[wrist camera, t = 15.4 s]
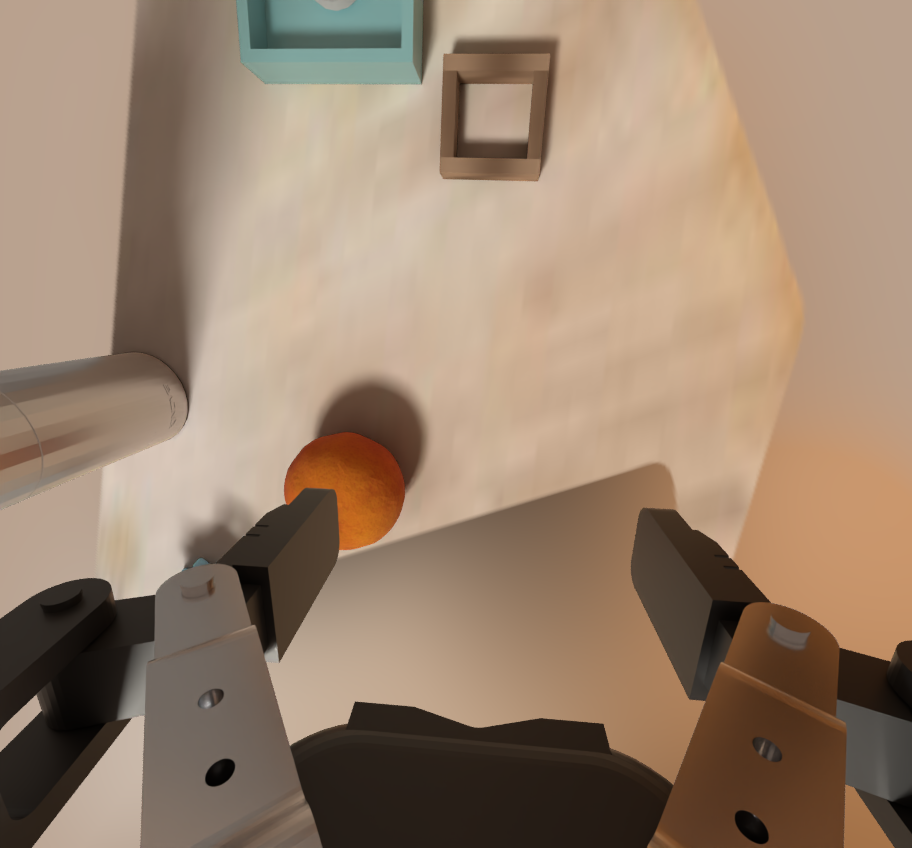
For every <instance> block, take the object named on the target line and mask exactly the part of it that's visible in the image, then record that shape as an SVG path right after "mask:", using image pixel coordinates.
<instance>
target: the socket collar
mask: <svg viewBox="0 0 912 848" xmlns="http://www.w3.org/2000/svg"><path fill="white" fill-rule="evenodd" d="M549 64H550V53H540V54H444V57H443V87H442V117H441V147H440V174H441V175H442V177H443V179H468V180H509V181H538V178H539V173H540V162H541V151H542V141H543V130H544V119H545V108H546V97H547V86H548V75H549ZM460 84H533V89H532V101H531V113H530V125H529V137H528V149H527V159H507V158H457V138H458V115H459V91H460Z"/></svg>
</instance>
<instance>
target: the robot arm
mask: <svg viewBox="0 0 912 848" xmlns="http://www.w3.org/2000/svg"><path fill="white" fill-rule="evenodd" d="M187 411H188V410H187V399H186V394H185V391H184V389H183V386H182V384H181V382H180V381H179V379H178V378H177V376H176V375H175V373H174V372H173V371H172V370H171V369H170V368H169V367H168V366H167V365H166V364H164V363H163V362H162V361H160V360H159V359H157V358H155V357H153V356H151V355H148V354H144V353H138V352H129V353H122V354H115V355H108V356H101V357H94V358H86V359H80V360H72V361H65V362H59V363H51V364H44V365H38V366H30V367H23V368H16V369H10V370H3V371H0V510H2V509H4V508H7V507H9V506H11V505H14V504H16V503H19V502H20V501H23V500H25V499H28V498H30V497H32V496H35V495H37V494H40V493H42V492H44V491H47V490H49V489H52V488H54V487H56V486H59V485H61V484H63V483H66V482H68V481H71V480H73V479H75V478H78V477H80V476H83V475H85V474H87V473H90V472H92V471H94V470H97V469H99V468H102V467H104V466H107V465H109V464H111V463H114V462H116V461H118V460H121V459H123V458H126V457H128V456H130V455H133V454H135V453H138V452H140V451H143V450H145V449H147V448H150V447H152V446H154V445H157V444H159V443H162V442H164V441H166V440H169V439H171V438H172V437H174V436H175V435H176V434H178V432H179V431H180V430H181V429H182V427H183V425H184V423H185V421H186V417H187ZM339 545H340V539H339V522H338V505H337V495H336V492H335V490H334V489H322V488H304V489H303V490H302V491H301V492H300V494H299V495H298V496H297V497H296V498H295V499H294V500H293V501H292V502H291V503H290V504H289V505H286V504H284V505H282V506H280V507H278V508H276V509H274V510H272V511H270V512H268V513H267V514H266V515H264V516H263V517H262V518H261V519H260V520H259V521H258V522H257V523H256V524H255V527H252V528H251V529H250V530H249V531H248V532H247V533H246V536H243V537H242V538H241V539H240V540H239V541H238V542H237V543H236V544H235V545H234V546H233V547H232V548H231V549H230V550H229V551H228V552H227V553H226V554H225V555H224V556H223V557H222V558H221V559H220V560H219V561H218V562H217V563H216V564H206V565H200V566H196V567H193V568H189V569H187V570H184V571H182V572H180V573H178V574H176V575H174V576H172V577H171V578H169V579H168V580H167V581H165V582H164V583H163V584H162V585H161V586H160V587H159V589H158V590H157V592H156V595H151V596H144V597H137V598H129V599H122V600H114V596H113V592H112V588H111V585H110V583H109V582H107V581H105V580H103V579H97V578H87V579H79V580H74V581H69V582H66V583H62V584H60V585H56V586H54V587H51V588H48V589H46V590H44V591H42V592H40V593H38V594H36V595H35V596H32V597H31V598H29V599H28V600H26V601H25V602H23V603H22V604H20V605H19V606H18V607H16V608H15V609H14V610H12V611H11V612H9V613H8V614H6V615H5V616H4V617H2V618H1V619H0V730H1V728H2V727H3V726H4V725H5V724H6V723H7V722H8V721H9V720H10V719H11V718H12V717H13V716H14V715H15V714H16V713H17V712H18V711H19V710H20V709H21V708H22V707H23V706H25V705H26V704H27V703H28V702H29V701H30V700H31V699H32V698H33V697H34V696H35V695H36V694H37V697H38V700H39V703H40V706H41V709H42V711H41V712H40V713H39V714H38V715H37V716H36V717H35V718H34V719H33V720H32V721H31V722H30V723H29V724H28V725H27V726H26V727H25V728H24V729H23V730H22V731H21V732H20V733H19V734H18V735H17V736H16V737H15V738H14V739H13V740H12V741H11V742H10V743H9V744H8V745H7V746H6V747H5V748H4V749H3V750H2V751H1V752H0V848H32V847H33V845H34V844H35V843H36V842H37V840H38V839H39V838H40V836H41V835H42V834H43V832H44V831H45V830H46V829H47V827H48V826H49V825H50V823H51V822H52V821H53V820H54V818H55V817H56V816H57V814H58V813H59V812H60V810H61V809H62V808H63V806H64V805H65V804H66V803H67V801H68V800H69V799H70V798H71V796H72V795H73V794H74V792H75V791H76V790H77V789H78V787H79V786H80V785H81V783H82V782H83V781H84V779H85V778H86V777H87V776H88V774H89V773H90V771H91V770H92V769H93V768H94V766H95V765H96V764H97V762H98V761H99V760H100V759H101V758H102V756H103V755H104V754H105V752H106V751H107V750H108V748H109V747H110V746H111V745H112V743H113V742H114V741H115V739H116V738H117V737H118V736H119V734H120V733H121V732H122V730H123V729H124V727H125V726H126V725H127V724H128V723H129V721H130V720H131V719H132V718H133V717H138V716H143V715H145V723H144V753H143V784H142V785H143V786H142V814H141V845H140V848H844V818H845V816H844V815H845V784H846V785H849V786H852V787H854V788H855V789H856V791H857V793H858V794H859V796H860V797H861V799H862V800H863V801H864V803H865V805H866V806H867V807H868V809H869V810H870V812H871V813H872V815H873V816H874V818H875V819H876V821H877V822H878V824H879V825H880V826H881V828H882V830H883V831H884V833H885V834H886V836H887V837H888V838H889V840H890V841H891V843H892V844H893V846H894V847H895V848H912V641H904V642H901V643H899V644H898V645H897V648H896V650H895V652H894V655H893V658H892V660H891V662H890V661H886V660H882V659H879V658H875V657H871V656H868V655H864V654H860V653H856V652H853V651H849V650H846V649H842V648H839V645H838V642H837V640H836V639H835V637H834V636H833V635H832V634H831V633H830V632H829V631H828V630H827V629H826V628H825V627H824V626H823V625H821V624H820V623H818V622H817V621H815V620H814V619H812V618H810V617H809V616H807V615H805V614H803V613H801V612H799V611H796V610H794V609H791V608H788V607H786V606H782V605H778V604H774V603H771V602H770V601H769V600H768V599H767V598H766V597H765V595H764V594H763V593H762V592H761V591H760V590H759V589H758V588H757V587H756V586H755V584H754V583H753V582H752V581H751V580H750V579H749V578H748V577H747V575H746V574H745V573H744V572H743V571H742V570H739V567H738V566H737V564H736V563H735V562H734V561H733V560H732V559H731V558H729V556H728V554H727V553H726V552H725V551H724V550H723V549H722V548H721V547H720V546H719V544H718V543H717V542H715V541H714V540H712V539H711V538H709V537H707V536H706V535H704V534H703V533H701V532H700V531H698V530H692V529H691V528H690V526H689V525H688V524H687V523H686V522H685V521H684V519H683V518H682V517H681V516H680V515H679V513H678V512H677V511H676V510H671V509H655V508H643V509H642V510H641V511H640V514H639V518H638V523H637V530H636V535H635V541H634V548H633V554H632V560H631V575H632V581H633V584H634V587H635V589H636V591H637V593H638V595H639V597H640V599H641V601H642V604H643V606H644V608H645V610H646V612H647V613H648V616H649V618H650V620H651V622H652V624H653V626H654V628H655V630H656V632H657V634H658V636H659V638H660V640H661V642H662V644H663V647H664V649H665V651H666V653H667V655H668V657H669V659H670V661H671V663H672V665H673V667H674V669H675V671H676V673H677V675H678V677H679V679H680V681H681V684H682V686H683V687H684V690H685V692H686V694H687V696H688V698H689V699H691V700H703V701H705V704H704V706H703V709H702V712H701V714H700V717H699V720H698V722H697V725H696V728H695V730H694V733H693V735H692V738H691V741H690V743H689V746H688V748H687V751H686V754H685V756H684V759H683V762H682V764H681V767H680V770H679V772H678V775H677V777H676V780H675V783H674V785H672V784H671V783H670V782H669V781H668V780H667V779H665V778H664V777H662V776H661V775H660V774H658V773H657V772H655V771H654V770H652V769H651V768H649V767H648V766H646V765H644V764H643V763H641V762H639V761H637V760H636V759H634V758H631V757H630V756H627V755H625V754H623V753H621V752H619V751H616V750H613V749H611V748H610V747H609V743H608V740H607V736H606V732H605V728H604V724H599V723H588V722H577V721H565V720H554V719H543V718H539V719H534V720H528V721H521V722H515V723H509V724H503V725H496V726H490V727H484V728H474V727H470V726H467V725H464V724H461V723H459V722H456V721H453V720H450V719H447V718H444V717H441V716H439V715H436V714H433V713H430V712H427V711H425V710H422V709H419V708H416V707H408V706H398V705H387V704H376V703H365V702H355V703H354V706H353V709H352V713H351V716H350V719H349V722H348V724H344V725H338V726H335V727H331V728H328V729H324V730H322V731H319V732H317V733H314V734H312V735H309V736H307V737H306V738H303V739H301V740H299V741H298V742H296V743H294V744H292V745H291V746H290V745H289V742H288V738H287V735H286V731H285V728H284V724H283V720H282V717H281V714H280V710H279V706H278V703H277V699H276V696H275V692H274V688H273V685H272V682H271V678H270V674H269V671H268V667H267V664H266V662H275V663H279V662H280V660H281V659H282V657H283V655H284V653H285V651H286V650H287V648H288V646H289V645H290V643H291V641H292V639H293V637H294V635H295V634H296V632H297V630H298V629H299V627H300V625H301V623H302V622H303V620H304V618H305V616H306V615H307V613H308V611H309V609H310V608H311V606H312V604H313V602H314V600H315V599H316V597H317V595H318V594H319V592H320V590H321V588H322V587H323V585H324V583H325V581H326V580H327V578H328V576H329V574H330V573H331V571H332V569H333V567H334V566H335V563H336V561H337V557H338V553H339Z"/></svg>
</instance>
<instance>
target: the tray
mask: <svg viewBox="0 0 912 848" xmlns="http://www.w3.org/2000/svg"><path fill="white" fill-rule="evenodd" d="M236 4H237V17H238V30H239V43H240V56H241V63H242V64H243V65H245V66H246V67H247V68H248V69H249V70H250V71H251V72H252V73H254V74H255V75H256V76H257V77H258V78H259V79H260V80H262V81H263V82H264V83H265V84H422V41H423V0H356V1H355V2H354V3H353V4H351V5H350V6H349V7H348V8H345V9H342V10H339V11H335V10H330V9H325V8H324V7H323V6H321V5H320V4H319V3H317V2H316V1H315V0H236Z"/></svg>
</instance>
